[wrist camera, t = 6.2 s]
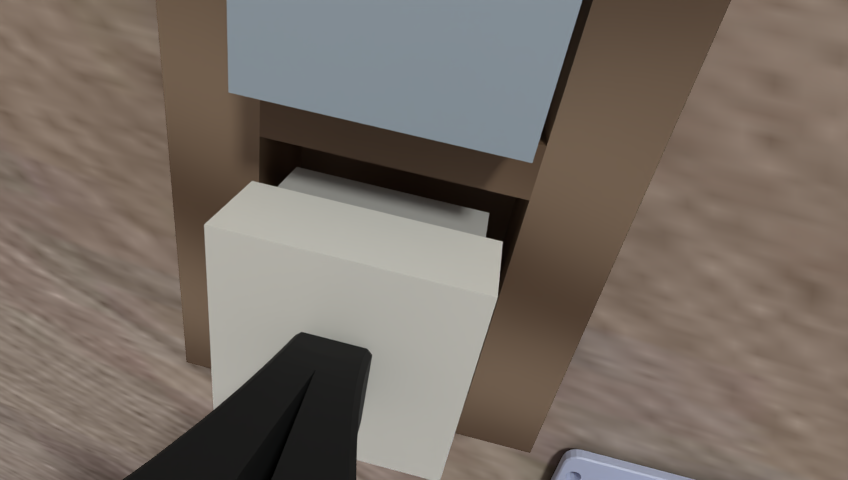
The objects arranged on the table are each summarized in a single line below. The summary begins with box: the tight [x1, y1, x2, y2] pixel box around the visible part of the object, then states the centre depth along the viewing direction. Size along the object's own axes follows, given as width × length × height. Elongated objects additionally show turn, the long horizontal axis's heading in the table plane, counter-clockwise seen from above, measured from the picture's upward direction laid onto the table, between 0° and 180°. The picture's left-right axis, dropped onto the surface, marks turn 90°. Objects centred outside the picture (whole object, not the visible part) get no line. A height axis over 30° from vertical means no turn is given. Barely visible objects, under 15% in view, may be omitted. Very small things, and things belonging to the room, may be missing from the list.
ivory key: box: [204, 167, 503, 480], centre depth 11 cm, size 5×5×3 cm
